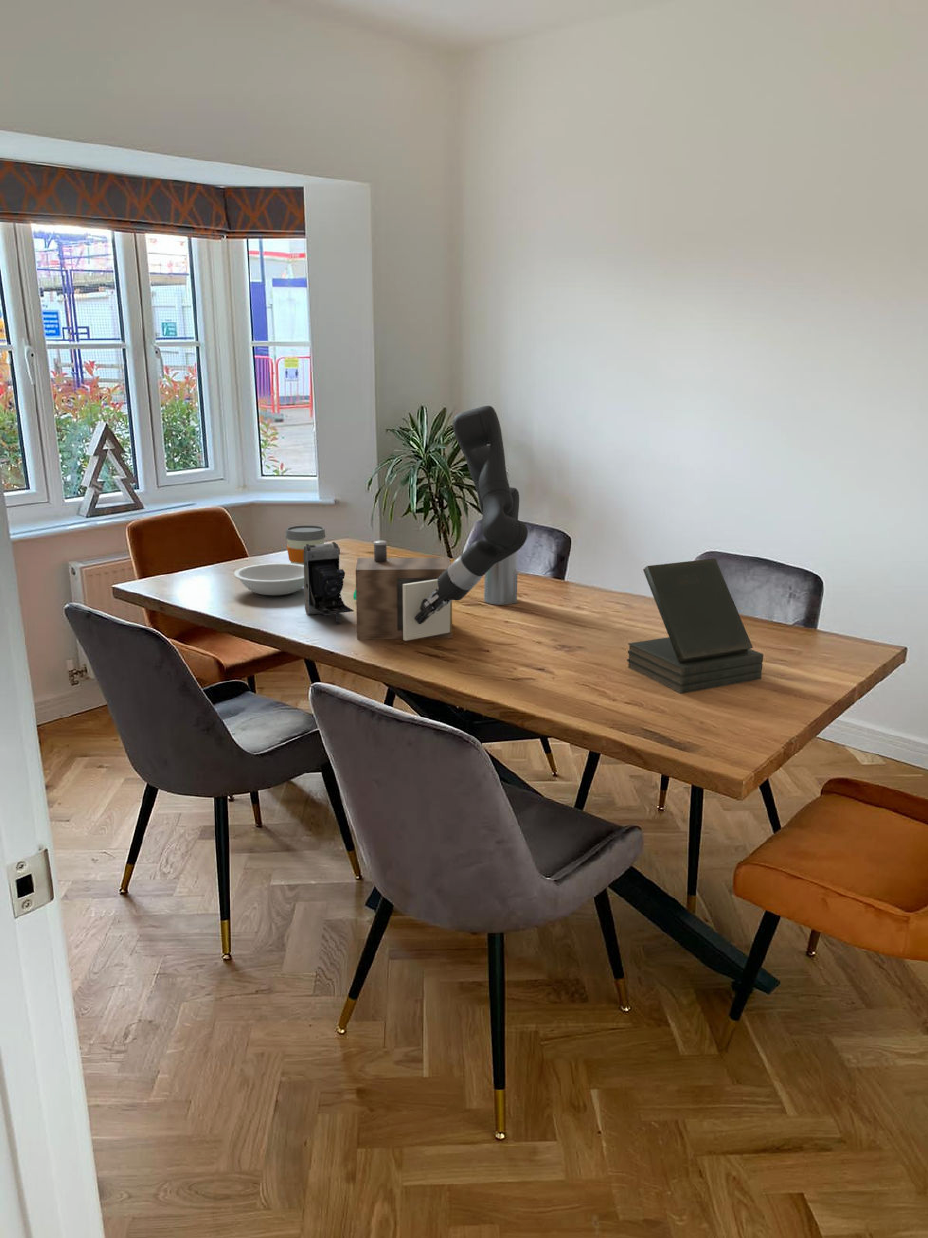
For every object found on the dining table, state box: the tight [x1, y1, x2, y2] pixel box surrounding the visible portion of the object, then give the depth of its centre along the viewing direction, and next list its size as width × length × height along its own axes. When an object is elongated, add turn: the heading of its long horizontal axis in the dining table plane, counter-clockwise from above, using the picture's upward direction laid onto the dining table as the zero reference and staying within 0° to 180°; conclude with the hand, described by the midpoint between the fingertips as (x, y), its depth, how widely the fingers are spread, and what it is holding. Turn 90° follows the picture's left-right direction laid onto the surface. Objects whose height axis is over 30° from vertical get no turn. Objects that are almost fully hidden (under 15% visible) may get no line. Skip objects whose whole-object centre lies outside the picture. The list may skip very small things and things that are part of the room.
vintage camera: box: [303, 541, 355, 625], centre depth 259 cm, size 10×16×20 cm, turn 28°
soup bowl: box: [233, 562, 304, 596], centre depth 287 cm, size 24×24×7 cm
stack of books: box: [626, 558, 764, 695], centre depth 217 cm, size 23×20×25 cm
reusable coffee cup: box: [285, 524, 326, 565], centre depth 309 cm, size 13×13×15 cm
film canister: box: [373, 540, 388, 562], centre depth 247 cm, size 3×3×5 cm
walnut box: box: [355, 556, 453, 640], centre depth 248 cm, size 24×14×18 cm, turn 94°
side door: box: [402, 579, 453, 641], centre depth 238 cm, size 14×1×14 cm, turn 125°
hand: (418, 620), depth 235 cm, fingers closed
